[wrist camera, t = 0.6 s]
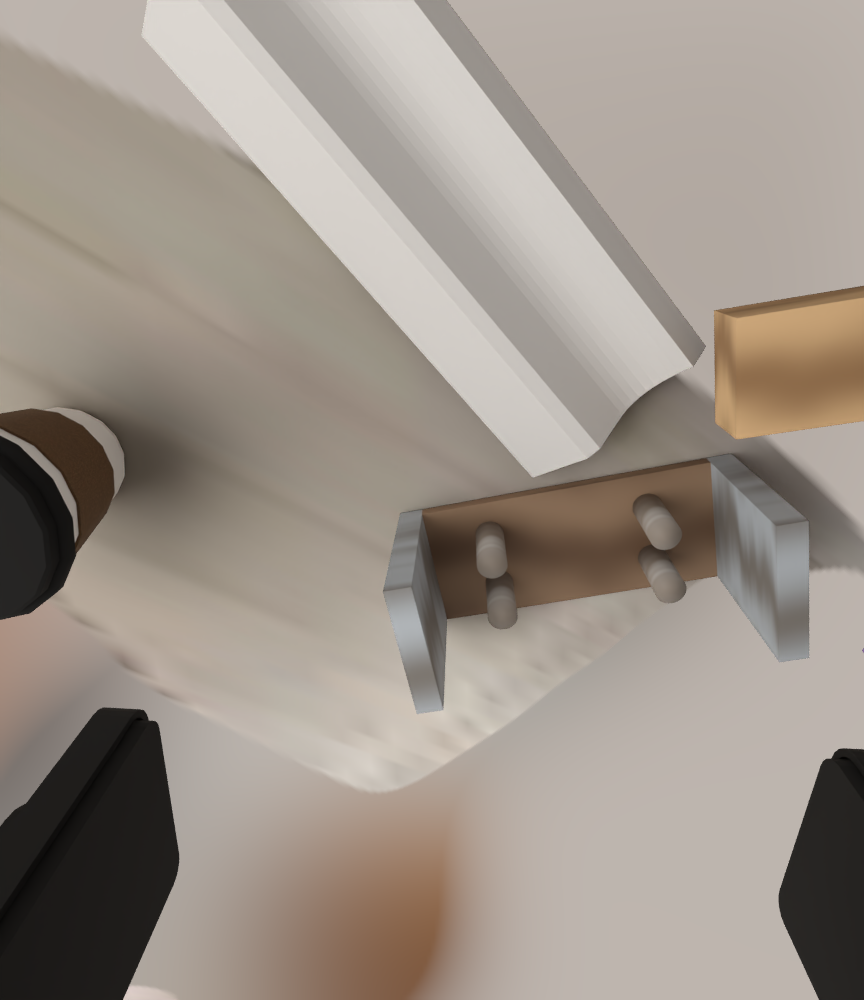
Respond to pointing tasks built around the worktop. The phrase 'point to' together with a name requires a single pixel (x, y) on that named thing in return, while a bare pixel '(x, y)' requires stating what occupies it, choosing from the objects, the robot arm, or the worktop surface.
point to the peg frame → (598, 556)
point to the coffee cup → (50, 498)
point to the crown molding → (439, 205)
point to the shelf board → (790, 364)
